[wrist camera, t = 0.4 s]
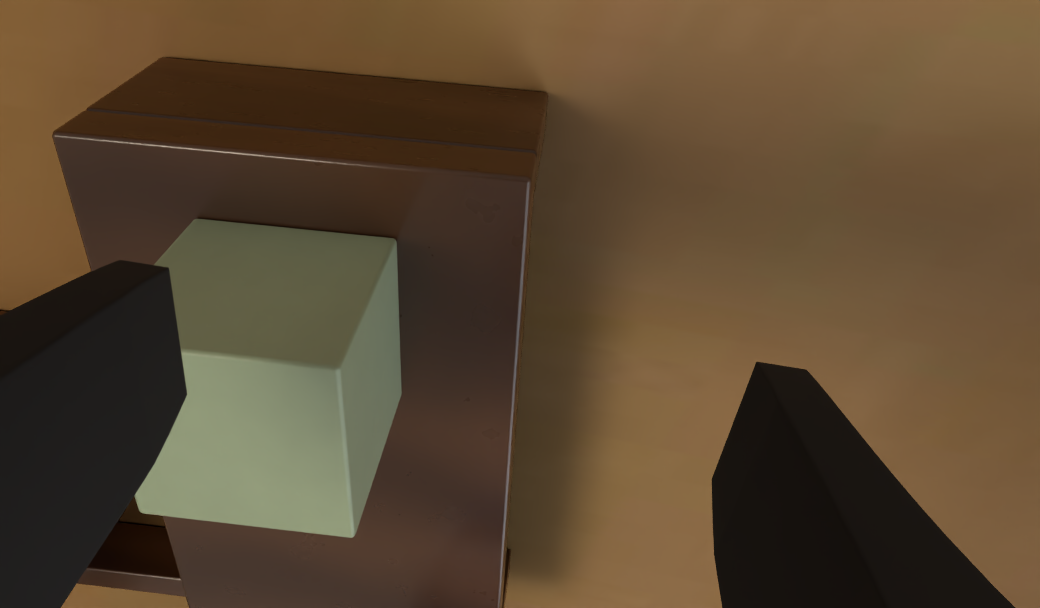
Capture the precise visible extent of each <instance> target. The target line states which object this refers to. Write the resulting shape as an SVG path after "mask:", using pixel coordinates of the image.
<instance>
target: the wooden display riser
mask: <svg viewBox="0 0 1040 608" xmlns="http://www.w3.org/2000/svg"><path fill="white" fill-rule="evenodd" d="M547 104H548V95H547V93H545V92H535V91H524V90H513V89H502V88H491V87H480V86H469V85H458V84H447V83H436V82H425V81H414V80H403V79H393V78H382V77H371V76H360V75H349V74H338V73H327V72H316V71H305V70H294V69H283V68H272V67H261V66H250V65H239V64H228V63H218V62H207V61H196V60H185V59H174V58H163V57H162V58H160V59H158V60H157V61H155V62H154V63H152V64H151V65H150V66H148V67H147V68H145V69H144V70H142V71H141V72H139V73H138V74H136V75H135V76H133V77H132V78H131V79H129V80H128V81H126V82H125V83H123V84H122V85H120V86H119V87H117V88H116V89H114V90H113V91H111V92H110V93H109V94H107V95H106V96H104V97H103V98H101V99H100V100H98V101H97V102H95V103H94V104H92V105H91V106H90V107H88V108H87V111H83V112H81V113H80V114H78V115H77V116H75V117H74V118H73V119H71V120H70V121H68V122H67V123H65V124H64V125H62V126H61V127H59V128H58V129H56V130H55V131H54V132H53V135H52V137H53V140H54V144H55V147H56V151H57V154H58V158H59V161H60V164H61V168H62V171H63V175H64V178H65V182H66V185H67V189H68V192H69V195H70V199H71V202H72V206H73V209H74V213H75V216H76V220H77V223H78V226H79V230H80V233H81V237H82V240H83V244H84V247H85V251H86V254H87V257H88V261H89V264H90V268H91V271H94V270H96V269H98V268H100V267H103V266H105V265H108V264H110V263H113V262H115V261H118V260H125V261H131V262H137V263H144V264H150V265H154V264H155V263H156V262H157V261H158V260H159V258H160V257H161V256H162V255H163V254H164V253H165V252H166V251H167V249H168V248H169V247H170V246H171V245H172V244H173V243H174V242H175V240H176V239H177V238H178V237H179V236H180V235H181V234H182V233H183V231H184V230H185V229H186V228H187V227H188V226H189V225H190V224H191V222H192V221H193V220H195V219H206V220H216V221H226V222H236V223H246V224H256V225H266V226H276V227H286V228H296V229H306V230H316V231H326V232H336V233H346V234H356V235H366V236H376V237H386V238H394V239H395V240H396V242H397V268H398V299H399V329H400V360H401V390H402V394H401V397H400V400H399V403H398V406H397V409H396V412H395V415H394V419H393V422H392V425H391V428H390V431H389V434H388V437H387V440H386V443H385V446H384V449H383V452H382V455H381V458H380V461H379V464H378V467H377V470H376V473H375V476H374V479H373V483H372V486H371V489H370V492H369V495H368V498H367V501H366V504H365V507H364V510H363V513H362V516H361V519H360V522H359V525H358V528H357V531H356V534H355V536H354V537H352V538H348V537H340V536H331V535H323V534H314V533H305V532H297V531H288V530H280V529H271V528H263V527H254V526H246V525H237V524H229V523H220V522H212V521H203V520H195V519H186V518H178V517H169V516H163V519H164V523H165V526H166V528H162V527H153V526H145V525H136V524H128V523H119V522H117V523H116V525H115V526H114V528H113V529H112V531H111V532H110V534H109V535H108V537H107V538H106V540H105V541H104V543H103V544H102V546H101V547H100V549H99V550H98V552H97V553H96V555H95V556H94V558H93V559H92V561H91V562H90V564H89V565H88V567H87V568H86V570H85V571H84V573H83V574H82V576H81V577H80V579H79V580H78V582H77V583H78V584H86V585H94V586H102V587H111V588H119V589H127V590H135V591H143V592H152V593H160V594H168V595H176V596H184V597H186V599H187V602H188V605H189V608H505V600H506V592H507V584H508V576H509V568H510V556H511V550H510V549H507V537H508V524H509V511H510V498H511V485H512V472H513V458H514V445H515V432H516V419H517V406H518V393H519V380H520V367H521V354H522V341H523V328H524V315H525V302H526V289H527V276H528V263H529V250H530V237H531V224H532V211H533V198H534V191H535V186H536V180H537V175H538V169H539V163H540V158H541V152H542V146H543V141H544V135H545V128H546V116H547ZM6 312H7V311H0V315H2V314H4V313H6Z"/></svg>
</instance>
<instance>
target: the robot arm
mask: <svg viewBox="0 0 1040 608" xmlns="http://www.w3.org/2000/svg"><path fill="white" fill-rule="evenodd" d="M186 396H187V389H186V382H185V375H184V368H183V361H182V354H181V348H180V341H179V334H178V327H177V320H176V313H175V306H174V299H173V292H172V285H171V278H170V271H169V267H162V266H156V265H150V264H144V263H137V262H131V261H125V260H118V261H115V262H113V263H110V264H108V265H105V266H103V267H100V268H98V269H96V270H94V271H91V272H89V273H87V274H85V275H83V276H81V277H78V278H76V279H74V280H72V281H70V282H68V283H66V284H64V285H62V286H60V287H58V288H55V289H53V290H51V291H49V292H47V293H45V294H43V295H41V296H39V297H37V298H35V299H33V300H31V301H29V302H27V303H25V304H23V305H21V306H19V307H17V308H15V309H12V310H10V311H8V312H6V313H4V314H2V315H0V608H61V606H62V605H63V603H64V602H65V600H66V599H67V597H68V596H69V594H70V593H71V591H72V590H73V588H74V586H75V585H76V583H77V582H78V580H79V579H80V577H81V576H82V574H83V573H84V571H85V570H86V568H87V567H88V565H89V564H90V562H91V561H92V559H93V558H94V556H95V555H96V553H97V552H98V550H99V549H100V547H101V546H102V544H103V543H104V541H105V540H106V538H107V537H108V535H109V534H110V532H111V531H112V529H113V528H114V526H115V525H116V523H117V521H118V520H119V518H120V517H121V515H122V514H123V512H124V511H125V509H126V508H127V506H128V505H129V503H130V501H131V500H132V498H133V497H134V495H135V494H136V492H137V491H138V489H139V488H140V486H141V485H142V483H143V481H144V480H145V478H146V477H147V475H148V473H149V472H150V470H151V469H152V467H153V466H154V464H155V462H156V460H157V458H158V456H159V454H160V452H161V450H162V448H163V446H164V444H165V442H166V440H167V438H168V436H169V434H170V432H171V429H172V427H173V425H174V423H175V421H176V418H177V416H178V414H179V412H180V410H181V407H182V405H183V403H184V401H185V399H186ZM712 509H713V537H714V556H715V563H716V570H717V576H718V582H719V589H720V595H721V601H722V608H1015V607H1014V606H1013V605H1012V604H1011V603H1010V602H1009V601H1008V600H1007V599H1006V598H1005V597H1004V596H1003V595H1002V594H1001V593H1000V592H999V591H998V590H997V589H996V588H995V587H994V586H993V585H992V584H991V583H990V582H989V581H988V580H987V579H986V578H985V577H984V575H983V574H982V573H981V572H980V571H979V570H978V569H977V568H976V567H975V566H974V565H973V564H972V563H971V562H970V561H969V560H968V558H967V557H966V556H965V555H964V554H963V553H962V552H961V551H960V550H959V549H958V548H957V547H956V546H955V545H954V544H953V543H952V541H951V540H950V539H949V538H948V537H947V536H946V535H945V534H944V533H943V532H942V530H941V529H940V528H939V527H938V526H937V525H936V524H935V523H934V522H933V520H932V519H931V518H930V517H929V516H928V515H927V514H926V513H925V511H924V510H923V509H922V508H921V507H920V506H919V505H918V503H917V502H916V501H915V500H914V499H913V498H912V496H911V495H910V494H909V493H908V492H907V491H906V489H905V488H904V487H903V486H902V485H901V483H900V482H899V481H898V480H897V479H896V478H895V476H894V475H893V474H892V473H891V472H890V470H889V469H888V468H887V467H886V466H885V464H884V463H883V462H882V461H881V460H880V458H879V457H878V456H877V455H876V454H875V452H874V451H873V450H872V449H871V447H870V446H869V445H868V444H867V442H866V441H865V440H864V439H863V438H862V436H861V435H860V434H859V433H858V431H857V430H856V429H855V428H854V426H853V425H852V424H851V423H850V421H849V420H848V419H847V418H846V417H845V415H844V414H843V413H842V412H841V410H840V409H839V408H838V407H837V405H836V404H835V403H834V402H833V400H832V399H831V398H830V397H829V395H828V394H827V393H826V392H825V391H824V389H823V388H822V387H821V386H820V385H819V383H818V382H817V381H816V380H815V379H814V378H813V376H812V375H811V374H810V373H809V372H808V371H807V370H805V369H799V368H792V367H786V366H780V365H774V364H767V363H761V362H756V364H755V367H754V370H753V372H752V375H751V378H750V380H749V383H748V386H747V388H746V391H745V393H744V396H743V399H742V401H741V404H740V407H739V409H738V412H737V414H736V417H735V420H734V422H733V425H732V428H731V430H730V433H729V435H728V438H727V441H726V443H725V446H724V449H723V451H722V454H721V456H720V459H719V462H718V464H717V467H716V470H715V472H714V475H713V478H712Z"/></svg>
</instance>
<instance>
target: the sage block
mask: <svg viewBox="0 0 1040 608" xmlns="http://www.w3.org/2000/svg"><path fill="white" fill-rule="evenodd" d="M154 265H156V266H162V267H169V271H170V278H171V285H172V292H173V299H174V306H175V313H176V320H177V327H178V334H179V341H180V348H181V354H182V361H183V368H184V375H185V382H186V389H187V396H186V399H185V401H184V403H183V405H182V407H181V410H180V412H179V414H178V416H177V418H176V421H175V423H174V425H173V427H172V429H171V432H170V434H169V436H168V438H167V440H166V442H165V444H164V446H163V448H162V450H161V452H160V454H159V456H158V458H157V460H156V462H155V464H154V466H153V467H152V469H151V470H150V472H149V473H148V475H147V477H146V478H145V480H144V481H143V483H142V485H141V486H140V488H139V489H138V491H137V492H136V494H135V495H134V496H135V499H136V502H137V505H138V508H139V511H140V512H141V513H144V514H152V515H161V516H169V517H178V518H186V519H195V520H203V521H212V522H220V523H229V524H237V525H246V526H254V527H263V528H271V529H280V530H288V531H297V532H305V533H314V534H323V535H331V536H340V537H348V538H352V537H354V536H355V534H356V531H357V528H358V525H359V522H360V519H361V516H362V513H363V510H364V507H365V504H366V501H367V498H368V495H369V492H370V489H371V486H372V483H373V479H374V476H375V473H376V470H377V467H378V464H379V461H380V458H381V455H382V452H383V449H384V446H385V443H386V440H387V437H388V434H389V431H390V428H391V425H392V422H393V419H394V415H395V412H396V409H397V406H398V403H399V400H400V397H401V394H402V390H401V360H400V329H399V299H398V268H397V242H396V240H395V239H394V238H386V237H376V236H366V235H356V234H346V233H336V232H326V231H316V230H306V229H296V228H286V227H276V226H266V225H256V224H246V223H236V222H226V221H216V220H206V219H195V220H193V221H192V222H191V224H190V225H189V226H188V227H187V228H186V229H185V230H184V231H183V233H182V234H181V235H180V236H179V237H178V238H177V239H176V240H175V242H174V243H173V244H172V245H171V246H170V247H169V248H168V249H167V251H166V252H165V253H164V254H163V255H162V256H161V257H160V258H159V260H158V261H157V262H156V263H155V264H154Z"/></svg>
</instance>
